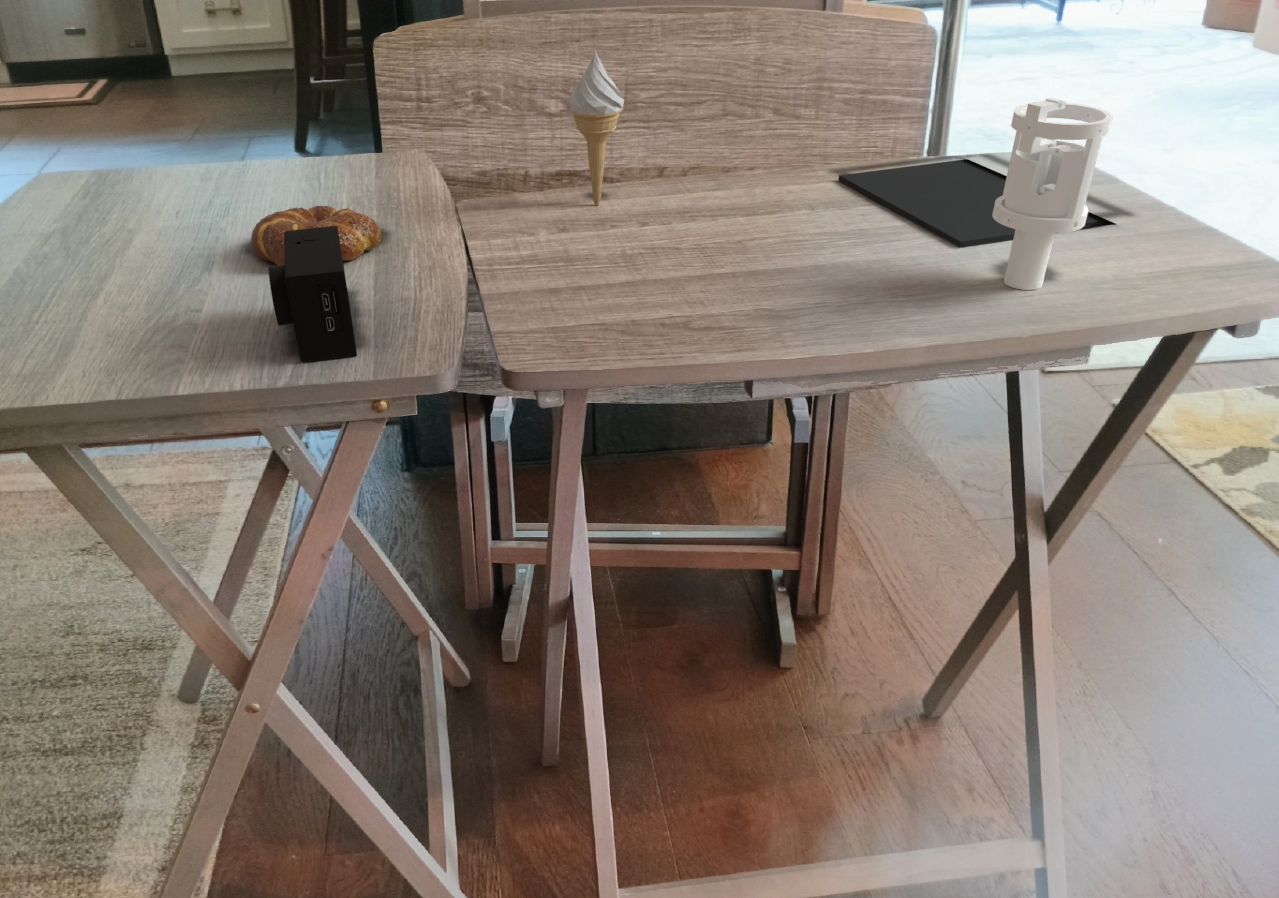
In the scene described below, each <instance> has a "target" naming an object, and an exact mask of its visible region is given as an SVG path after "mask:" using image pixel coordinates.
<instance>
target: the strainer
mask: <svg viewBox="0 0 1279 898" xmlns="http://www.w3.org/2000/svg"><path fill="white" fill-rule="evenodd" d="M1047 119H1066V120H1073V121H1078V122H1057V121H1049V120H1047ZM1113 119H1114V115H1113V114H1112V113H1111V112H1110V111H1108V110H1107V109H1106V110H1105V109H1103V108H1100V107H1096V106H1091V105H1086V104H1080V103H1072V102H1067V101H1066V100H1062V99H1057V98H1053V97H1049V98H1045V99H1044V100H1039V101H1033V102H1030V103H1026V104H1021V105H1019V106H1016V107H1015V108H1014V110H1013V115H1012V120H1011V128H1012V129H1013V130H1015V134H1014V135H1015V136H1014V141H1013V146H1012V150H1011V155H1010V158H1009V163H1008V168H1007V172H1006V176H1007V177H1006V182H1005V187H1004V192H1003V196H1000V197H998V198H997V199H996V200H995V204H994V209H993V214H992V216H993V218H994V220H995V221H997V222H998V223H1000V224H1002V225H1004V226H1007V227H1010V228H1013V229H1015V234H1014V238H1013V240H1012V242H1011V247H1010V252H1009V257H1008V261H1007V265H1006V270H1005V274H1004V278H1003V283H1004V284H1005V285H1006V286H1008V287H1009V288H1013V289H1017V290H1023V291H1034V290H1039V289H1041V288H1042V287H1043V284H1044V280H1045V275H1046V272H1047V267H1048V263H1049V259H1050V255H1051V251H1052V247H1053V243H1054V238H1055V236H1056V234H1067V233H1073V232H1076V231H1079V229H1080V230H1082V229H1081V228H1083V227H1084V225H1085V222H1086V218H1087V214H1088V212H1090V211H1089V207H1088V206H1087V204H1086V202H1087V199H1088V195H1089V191H1090V187H1091V184H1092V180H1093V176H1094V171H1095V168H1096V164H1097V161H1098V156H1099V152H1100V149H1101V145H1102V141H1103V137H1105V136H1107V135H1108V134H1109V133H1110V130H1111V126H1112V123H1113ZM1079 121H1080V122H1079ZM1080 140H1081V141H1083V140H1086V141H1085V145H1084V144H1083V143H1082V144H1081V143H1077V142H1073V141H1080Z"/></svg>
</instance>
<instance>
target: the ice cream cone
mask: <svg viewBox="0 0 1279 898" xmlns="http://www.w3.org/2000/svg"><path fill="white" fill-rule="evenodd" d="M622 97H623V95H622V93H621V91H620V90H619V88H618V87H617V85H616V84H615V82H614V81H613V80H612V79H611V76H610V74H609V73H608V71H607V70H606V68H605V66H604V65H603V62H602V61H601V58H600V57H599V55H598V52H597V51H596V50H595V51H594V53H593V55H592V57H591V60H590V62H589V64H588V66H587V68H586V70H585V71H584V73H583V75H582V76H581V78H580V79H579V81H578V83H577V84H576V86H575V88H574V89H573V90H572V93H571V95H570V96H569V97H568V99H567V102H568V107H569V112H570V113H571V114H572V115H573V116H572V117H573V119H574V123H575V125H576V126H575V128H576V131H577V130H578V131H579V133H580V134H581V135H582V136H583V137H584V139H585V141H586V150H587V160H588V166H589V177H590V183H591V191H592V200H593V204H594V205H595V206H599V205H600V203H601V199H602V188H603V181H604V180H603V179H604V171H605V163H606V162H605V160H606V149H607V140H608V138H609V137H610V135H611V134H612V133H613V131H614V130H616V129H617V123H618V120H619V117H620V113H621V112H622V111H623V109H624V104H625V99H624V98H622Z"/></svg>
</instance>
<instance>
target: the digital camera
mask: <svg viewBox="0 0 1279 898" xmlns="http://www.w3.org/2000/svg"><path fill="white" fill-rule="evenodd" d="M284 259H285V265H281V266H278V265H273V266H268V280H269V288H270V295H271V298H272V299H271V300H272V305H273V310H274V315H275V319H276V322H277V325H278V326H279V327H280V326H287V325H293V328H294V332H295V338H296V345H297V350H298V355H299V360H300V362H301V363H309V362H317V361H325V360H334V359H341V358H342V359H343V358H351V357H357V356H358V351H357V346H356V345H357V344H356V339H355V337H356V336H355V332H354V331H355V330H354V324H353V317H352V311H351V303H350V298H349V291H348V284H347V278H346V273H345V272H346V271H345V265H344V261H343V259H342V252H341V246H340V239H339V233H338V227H337V226H330V227H320V228H311V229H301V230H291V231H285V232H284Z"/></svg>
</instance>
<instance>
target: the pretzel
mask: <svg viewBox="0 0 1279 898" xmlns="http://www.w3.org/2000/svg"><path fill="white" fill-rule="evenodd" d="M330 226H337V227H338V233H339V239H340V246H341V252H342V259H343V262H345V261H352V260H353V261H354V260H355V259H357V258H360V257H361V255H363V254H364V253H365V251H372V250H373V249H374V248H376V247H377V246H378V245H379V244H380V242H381V238H382V236H381V229H380V227H379V226H378V224H377V222H376V221H375V220H374V219H373V218H371V217H370V216H368V215H367V214H364V213H360V212H358V211H355V210H353V209H351V208H348V207H347V208H342V209H339V210H338V209H337V208H334V207H332V206H329V205H316V206H312V207H310V208H309V209H308V208H305V207H293V208H288V209H285V210H279V211H275V212H273V213H271V214H268V215H266V216H264V217H263V218H261V219H260V220H259V221H258V222H257V223H256V224H255V226H254V227H253V229H252V233H251V239H250V241H251V247H252V249H253V251H254V253H255V254H256V255H257V256H258V257H259V258H261V259H263V260H265V261H268V262H272V263H274V264H275V266H281V265H285V259H284V232H285V231H291V230H301V229H311V228H320V227H330Z"/></svg>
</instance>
